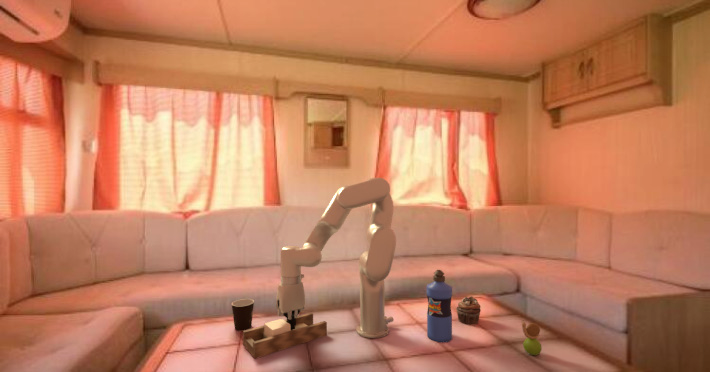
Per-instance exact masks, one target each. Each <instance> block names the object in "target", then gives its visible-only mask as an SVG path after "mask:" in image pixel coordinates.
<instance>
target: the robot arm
mask: <svg viewBox="0 0 710 372" xmlns="http://www.w3.org/2000/svg"><path fill="white" fill-rule="evenodd" d="M390 192H391V186H390V183H389V182H388V180H387V179H385V178H384V177H371V178H368V179H367V180H365V181H362V182H359V183H356V184H352V185H351V184H350V185H343V186H341V187H340V188H338V189H337V191H336V192H335V194H334V195H333V197H332V198H331V200H330V202H329V204H328V205H327V207H326V208H325V210H324V212H323V213H322V215H321V217H320V219H318V221H317V223H316V224H315V226H314V227H313V229H312V231H311V232H310V234H309V235H308V238H307V239H306V240H305V242H304V244H303V246H302V247H301V248H300V246H297V245H287V246H286V245H285V246H283V247H282V248H281V249H280V283H279V284H278V286H277V291H276V300H275V308H276V310H277V314H276V315H277V316H278V317H285V318H286V319H287V323H289V324H290V325H291V330H293V329H295V326H296V318H297V316H299V314H300V313H301V312H302V311H304V310H305V309H306V307H305V306H306V294H305V293H306V292H305V287H304V282H303V281H302V280H303V279H304V278H305V274H303V273H302V267H305V268H315V267H317V266H319V265H320V263H321V261H322V259H323V257H322V251H323V249H324V248H325V245H326V244H327V243H328V241H329V240H330V238H332V236H334V234H336V233H337V232H338V231H340V229H341V228H342V226H343V225H344V223H345V221H346V219H347V218H348V216H349V215H350V213H351V211H352V210H353V209H357V208H361V207H365V206H367V205H371V211H370V219H369V222H368V227H367V231H366V236H365V237H366V241H367V243H368V245H369V247H368V248H369V249H367V250H365V251H363V252H362V253H361V254H360V257H359V259H358V272H359V304H360V305H359V306H360V307H359V308H360V309H359V312H360V314H359V321H360V322H359V324H358V325H357V326H356V328H355V329H356V333H357V335H359V336H361V337H363V338H367V339H378V338H382V337H385V336H387V335H388V334H389V332H390V331H389V326H388V324H389V323H393V322H394V317H393V316H388V317H387V316H386V315H385V280H386V278H388V276H389V275H390V272H391V269H392V265H393V260H394V256H395V251H396V246H397V237H396V233H395V232H394V230H393V229H392V223H393V215H394V201H393V197H392V195H391V194H390Z"/></svg>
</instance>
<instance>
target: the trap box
mask: <svg viewBox="0 0 710 372" xmlns="http://www.w3.org/2000/svg"><path fill="white" fill-rule="evenodd" d="M284 320H285V321H286V322H287V318H286V319H284ZM327 328H328V323H327V321H325V320H324V321H320V322H316V323H314V313H313V312H309V313H305V314H301V315H297V318H296V326H295V329H293V330H291V331H289V332H285V333H282V334H279V335H275V336H272V337H267V336H266V335H264V325H261V326H258V327H251V328H249V329H247V330H243V331H242V345H243V346H244V348H245V349H246V350H247V352H248V353H249V354H250V355H251V356H252V357H253V358H254V359H258V358H261V357H265V356H267V355H270V354H273V353H277V352H280V351H283V350H286V349H289V348H292V347H296V346H298V345H301V344H304V343H308V342H311V341H313V340H317V339H320V338H323V337H326V336H328V329H327Z"/></svg>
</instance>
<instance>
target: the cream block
mask: <svg viewBox="0 0 710 372" xmlns="http://www.w3.org/2000/svg"><path fill="white" fill-rule="evenodd" d="M285 320H286V319H283V318H280V319H275V320H272V321H268V322H265V323H263V326H264V335H266V336H267V337H272V336H275V335H279V334H282V333H285V332H289V331H291V325H290V324H289V323H287V322H286V321H285Z"/></svg>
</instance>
